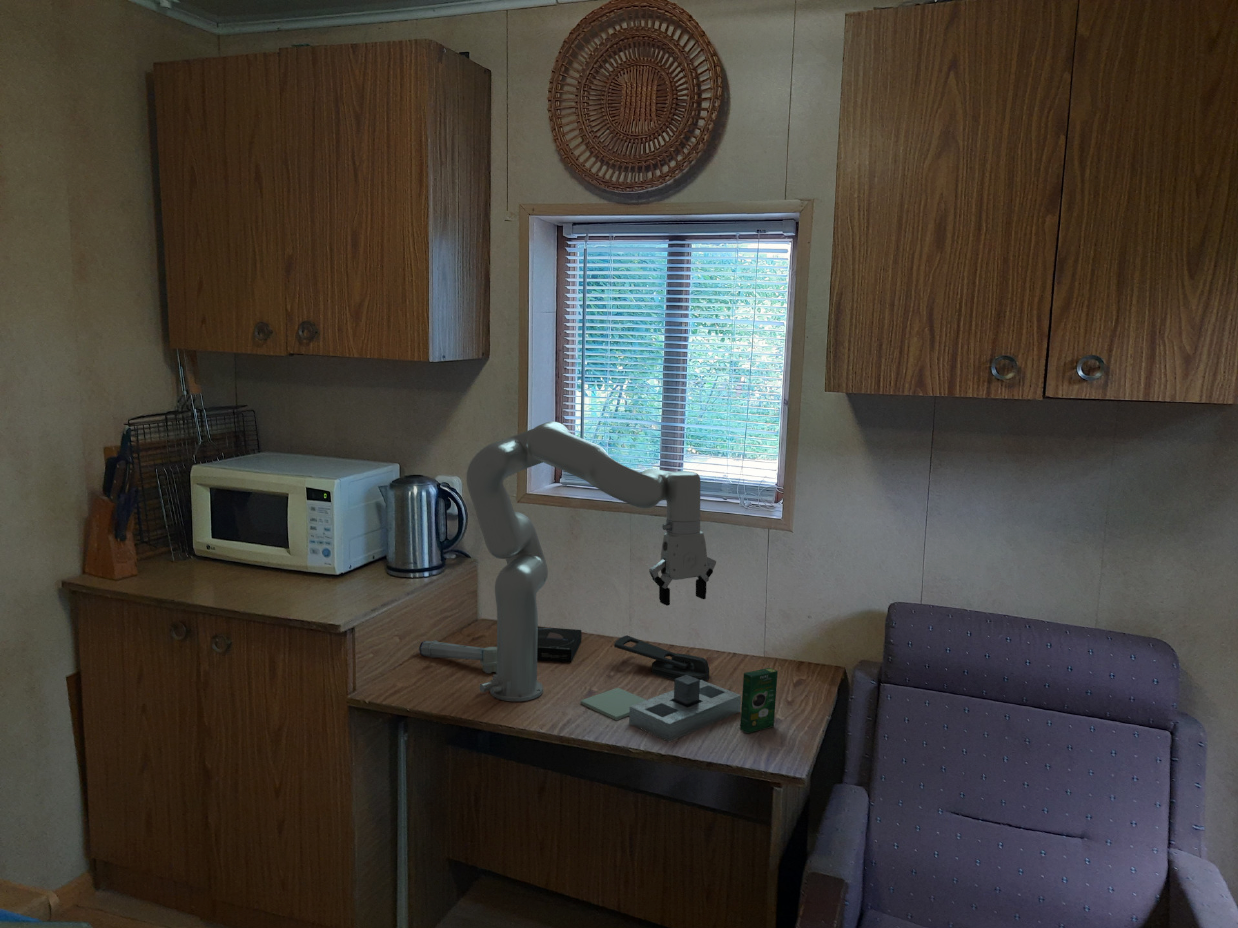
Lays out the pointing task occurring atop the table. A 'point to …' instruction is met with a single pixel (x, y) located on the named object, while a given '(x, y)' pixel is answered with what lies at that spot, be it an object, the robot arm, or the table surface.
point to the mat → (613, 703)
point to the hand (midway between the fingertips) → (683, 600)
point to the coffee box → (758, 700)
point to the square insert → (686, 691)
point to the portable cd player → (557, 644)
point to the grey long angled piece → (461, 653)
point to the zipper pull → (667, 660)
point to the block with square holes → (684, 712)
